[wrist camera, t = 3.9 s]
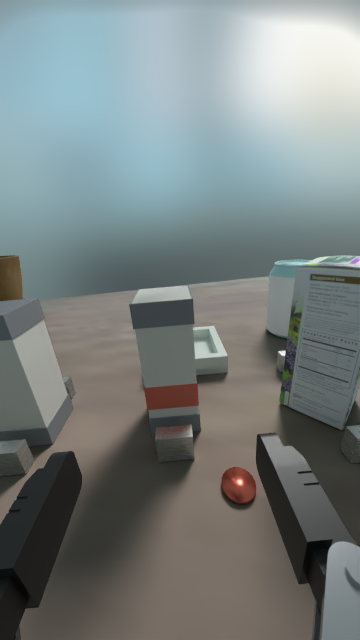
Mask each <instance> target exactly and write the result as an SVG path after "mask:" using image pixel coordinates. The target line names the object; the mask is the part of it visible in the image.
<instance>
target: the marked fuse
mask: <svg viewBox="0 0 360 640" xmlns="http://www.w3.org/2000/svg"><path fill="white" fill-rule="evenodd" d="M129 306H130V312H131V318H132V324H133V329H135V332H136V338H137V344H138V350H139V356H140V362H141V368H142V374H143V380H144V391H145V397H146V403H147V409H148V411H149V425H150V431H151V435H156V428H159V427H170V426H182V425H192V432H196V431H201V427H200V413H199V407H198V406H199V404H198V387H197V379H196V365H195V349H194V333H193V324H194V310H193V298H192V295H191V292H190V289H189V286H188V285H185V286H174V287H162V288H150V289H139V290H138V291H137V292H136V294H135V296H134V297H133V299H132V301H131V302H130V304H129Z"/></svg>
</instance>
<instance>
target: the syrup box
mask: <svg viewBox="0 0 360 640" xmlns="http://www.w3.org/2000/svg"><path fill="white" fill-rule="evenodd" d="M359 385H360V256H330V257H319V258H317V259H314V260H312V261H310V262H307V263H305V264H303V265H300V266H298V267H297V268H296V275H295V283H294V291H293V298H292V306H291V314H290V322H289V329H288V338H287V345H286V353H285V362H284V370H283V377H282V385H281V393H280V400H279V401H280V402H281V404H283V405H285V406H288V407H290V408H292V409H294V410H296V411H299V412H301V413H303V414H305V415H308V416H310V417H312V418H314V419H317V420H319V421H321V422H324V423H326V424H328V425H331V426H333V427H335V428H337V429H340V430H343V429H344V427H345V425H346V422H347V419H348V416H349V414H350V411H351V409H352V406H353V403H354V401H355V398H356V396H357V392H358V389H359Z"/></svg>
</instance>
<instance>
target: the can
mask: <svg viewBox="0 0 360 640" xmlns="http://www.w3.org/2000/svg"><path fill="white" fill-rule="evenodd" d="M307 262H310V260H286V261H285V260H284V261H278V262H275V266H274V268H273V269H272V271H271V272H270V275H269V290H268V305H267V320H266V328H267V330H268V331H270V332H271V333H272V334H274V335H276V336H278V337H282V338H288V329H289V322H290V314H291V306H292V298H293V291H294V283H295V275H296V268H297V267H298V266H300V265H303V264H305V263H307Z"/></svg>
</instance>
